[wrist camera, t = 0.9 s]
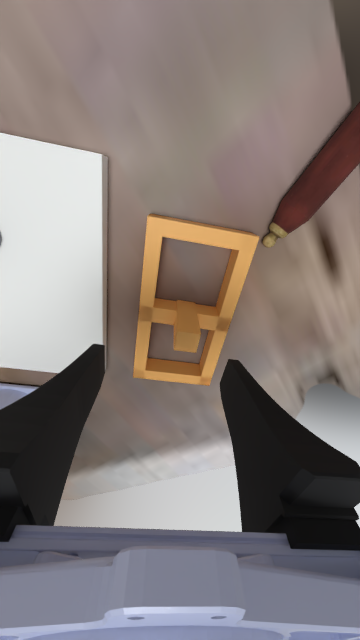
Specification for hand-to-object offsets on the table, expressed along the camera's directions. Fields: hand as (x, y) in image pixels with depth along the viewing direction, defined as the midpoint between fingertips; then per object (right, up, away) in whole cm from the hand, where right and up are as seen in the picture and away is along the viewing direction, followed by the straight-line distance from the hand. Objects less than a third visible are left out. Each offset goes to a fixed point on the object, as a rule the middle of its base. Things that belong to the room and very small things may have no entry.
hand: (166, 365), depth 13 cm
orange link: (+1, +4, +9) cm, 10 cm away
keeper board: (-15, +7, +7) cm, 18 cm away
